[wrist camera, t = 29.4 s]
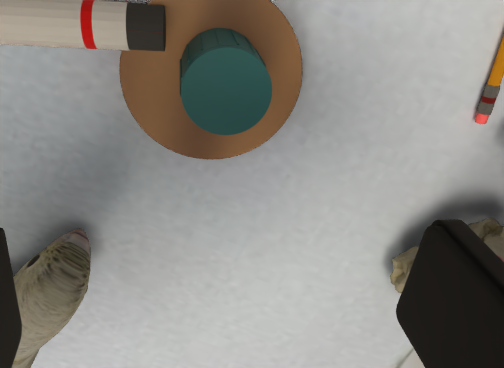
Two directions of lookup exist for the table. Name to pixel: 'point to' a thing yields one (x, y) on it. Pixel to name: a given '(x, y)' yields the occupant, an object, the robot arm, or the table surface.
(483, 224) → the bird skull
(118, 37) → the marker
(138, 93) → the coaster
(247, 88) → the cap
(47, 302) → the decorative bird
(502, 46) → the pencil
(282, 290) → the table surface
